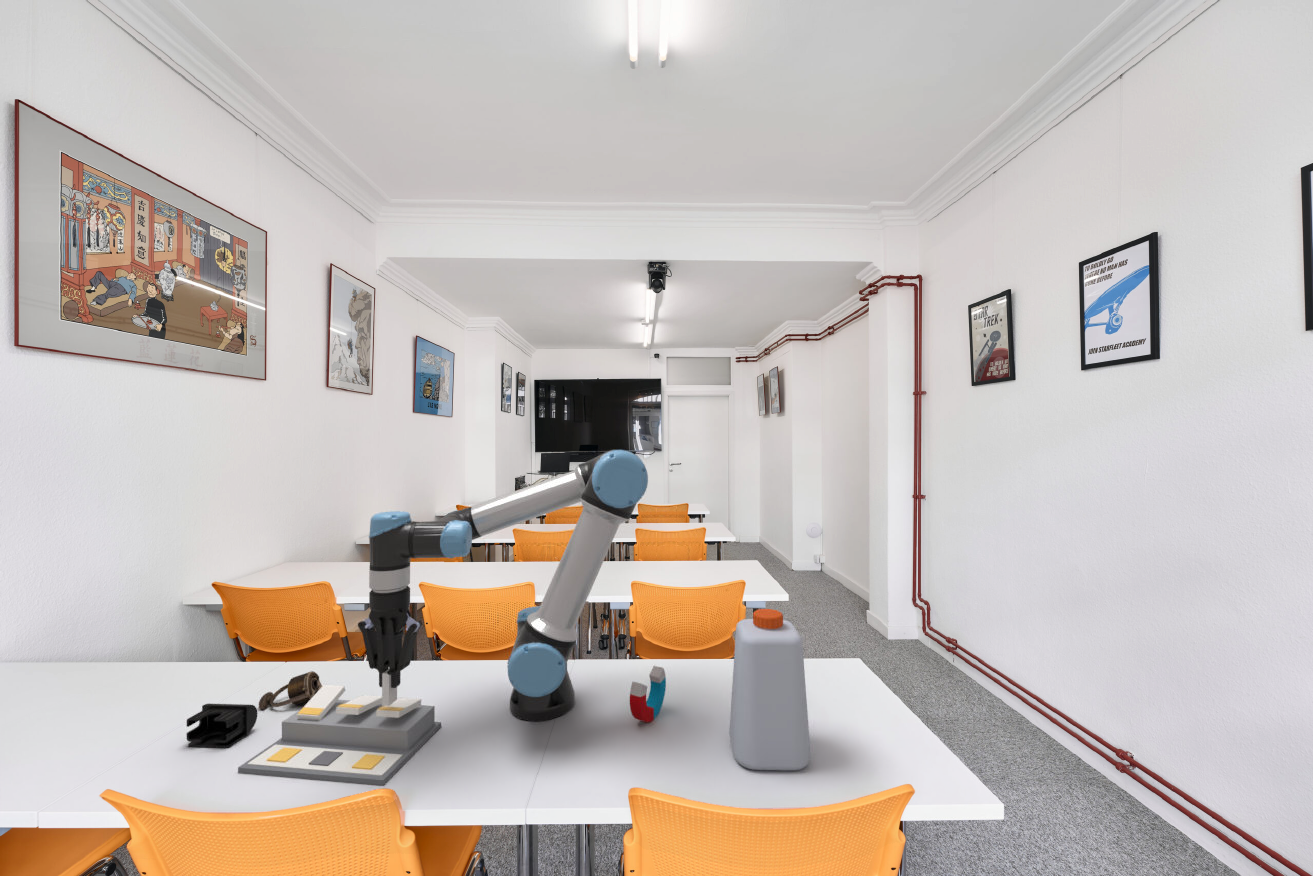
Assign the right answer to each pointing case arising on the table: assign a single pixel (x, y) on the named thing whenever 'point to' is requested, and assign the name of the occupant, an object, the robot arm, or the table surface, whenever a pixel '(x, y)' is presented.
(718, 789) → the table surface
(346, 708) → the rocker middle
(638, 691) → the magnet
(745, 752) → the plastic bottle
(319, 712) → the rocker
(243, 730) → the end cap
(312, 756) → the switch unit
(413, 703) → the rocker
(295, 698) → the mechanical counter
